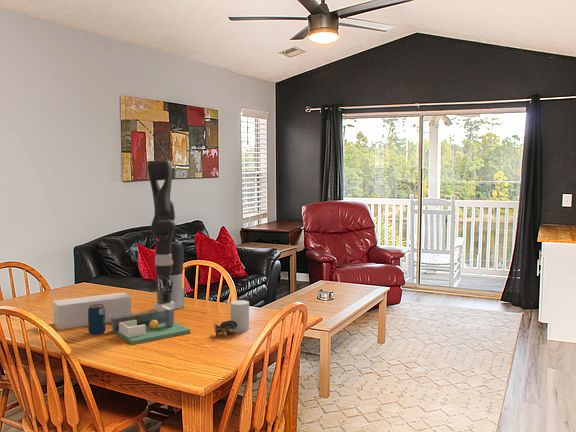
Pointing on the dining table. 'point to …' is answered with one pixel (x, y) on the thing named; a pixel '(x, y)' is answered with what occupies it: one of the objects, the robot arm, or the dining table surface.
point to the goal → (131, 328)
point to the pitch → (157, 333)
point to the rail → (139, 319)
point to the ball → (154, 324)
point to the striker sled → (165, 307)
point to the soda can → (96, 319)
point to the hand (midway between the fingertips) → (164, 300)
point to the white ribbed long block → (77, 308)
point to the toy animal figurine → (225, 327)
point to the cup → (240, 315)
